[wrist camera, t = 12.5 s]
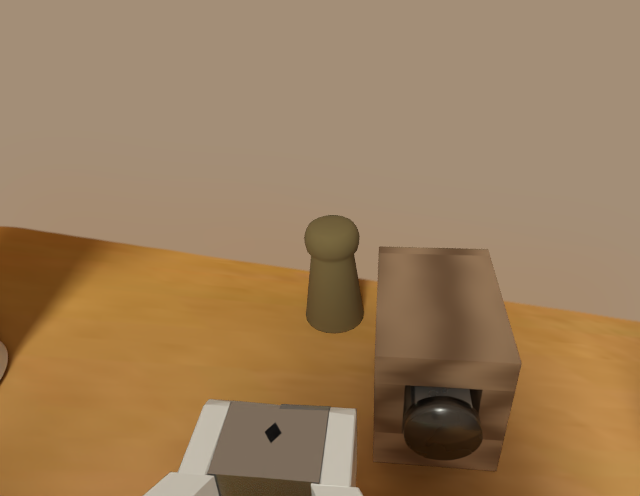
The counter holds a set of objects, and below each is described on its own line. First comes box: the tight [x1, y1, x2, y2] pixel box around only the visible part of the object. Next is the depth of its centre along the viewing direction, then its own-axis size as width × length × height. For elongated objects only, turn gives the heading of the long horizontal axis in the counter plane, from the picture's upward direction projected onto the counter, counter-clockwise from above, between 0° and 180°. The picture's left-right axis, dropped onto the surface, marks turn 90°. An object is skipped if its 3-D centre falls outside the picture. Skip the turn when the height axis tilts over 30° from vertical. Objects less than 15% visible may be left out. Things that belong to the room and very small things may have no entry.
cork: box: [304, 215, 364, 333], centre depth 50 cm, size 6×6×11 cm
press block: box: [373, 247, 521, 471], centre depth 40 cm, size 9×13×11 cm
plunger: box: [404, 386, 483, 461], centre depth 38 cm, size 5×13×5 cm, turn 173°
